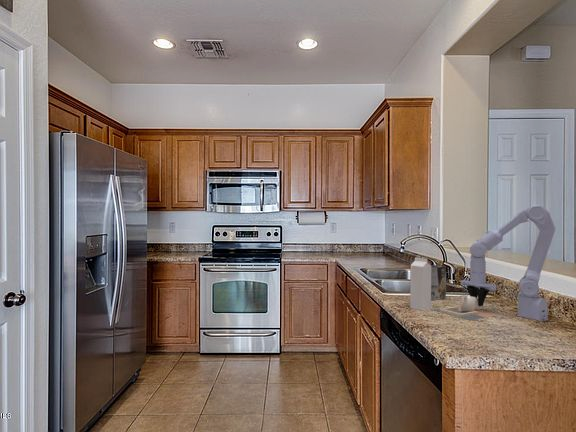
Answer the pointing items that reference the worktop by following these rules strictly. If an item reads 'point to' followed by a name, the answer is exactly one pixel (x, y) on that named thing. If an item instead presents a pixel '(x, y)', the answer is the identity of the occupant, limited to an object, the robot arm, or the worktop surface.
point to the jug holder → (466, 313)
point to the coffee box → (438, 282)
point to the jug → (469, 303)
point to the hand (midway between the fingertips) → (477, 305)
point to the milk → (420, 284)
